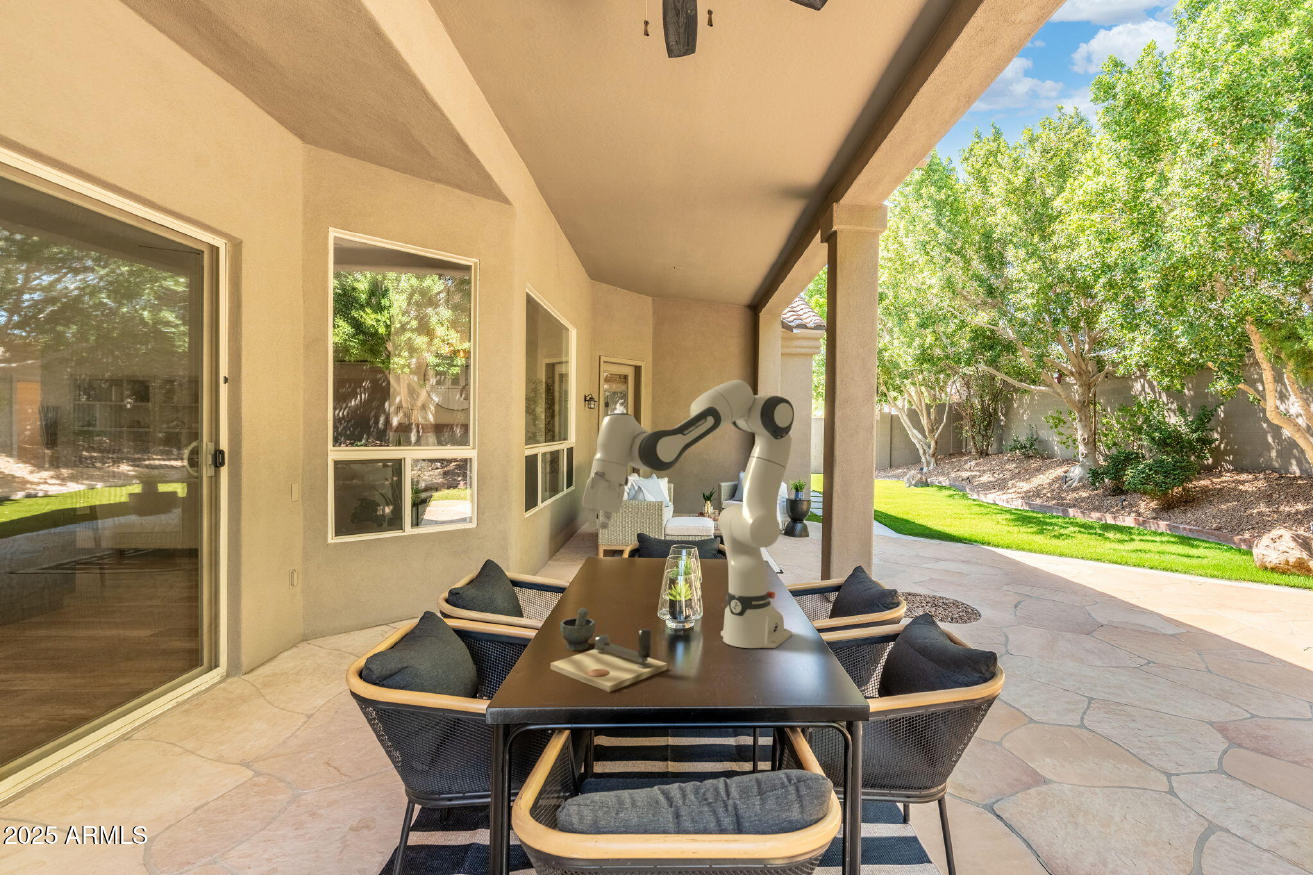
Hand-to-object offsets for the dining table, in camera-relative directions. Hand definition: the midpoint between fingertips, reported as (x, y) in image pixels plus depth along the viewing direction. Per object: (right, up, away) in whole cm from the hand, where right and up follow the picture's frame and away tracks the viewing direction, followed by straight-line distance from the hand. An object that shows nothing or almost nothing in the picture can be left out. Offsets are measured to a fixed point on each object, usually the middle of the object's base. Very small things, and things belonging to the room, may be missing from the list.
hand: (597, 528), depth 159 cm
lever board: (+3, -36, +3) cm, 36 cm away
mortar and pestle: (-7, -37, +20) cm, 42 cm away
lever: (+6, -34, +6) cm, 35 cm away
